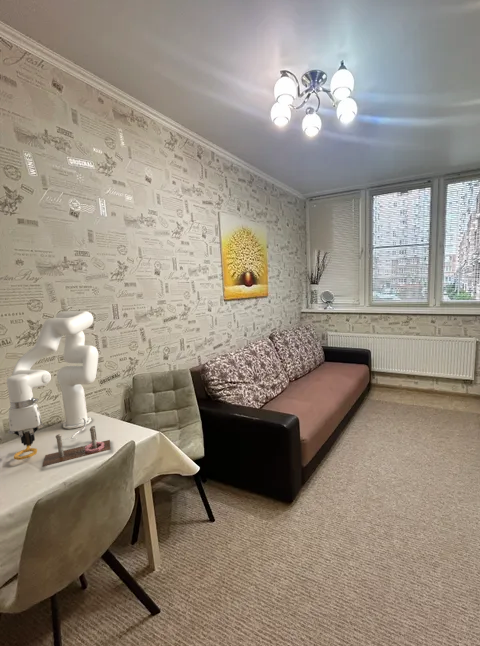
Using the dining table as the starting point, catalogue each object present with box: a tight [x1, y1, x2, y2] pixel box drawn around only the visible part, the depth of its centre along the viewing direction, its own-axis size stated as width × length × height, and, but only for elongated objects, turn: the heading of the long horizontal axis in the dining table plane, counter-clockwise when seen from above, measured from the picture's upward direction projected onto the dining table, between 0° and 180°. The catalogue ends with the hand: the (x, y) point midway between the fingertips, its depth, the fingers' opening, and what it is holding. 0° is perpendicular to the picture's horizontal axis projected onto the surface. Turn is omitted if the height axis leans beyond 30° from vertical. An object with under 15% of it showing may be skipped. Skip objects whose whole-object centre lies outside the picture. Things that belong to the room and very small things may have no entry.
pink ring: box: [85, 425, 104, 453], centre depth 138 cm, size 12×7×7 cm, turn 32°
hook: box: [62, 417, 87, 441], centre depth 149 cm, size 7×9×20 cm
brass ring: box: [13, 430, 38, 461], centre depth 129 cm, size 12×7×7 cm, turn 32°
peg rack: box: [41, 426, 111, 468], centre depth 133 cm, size 10×24×12 cm, turn 122°
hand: (28, 443), depth 134 cm, fingers closed on brass ring, 1 cm apart
